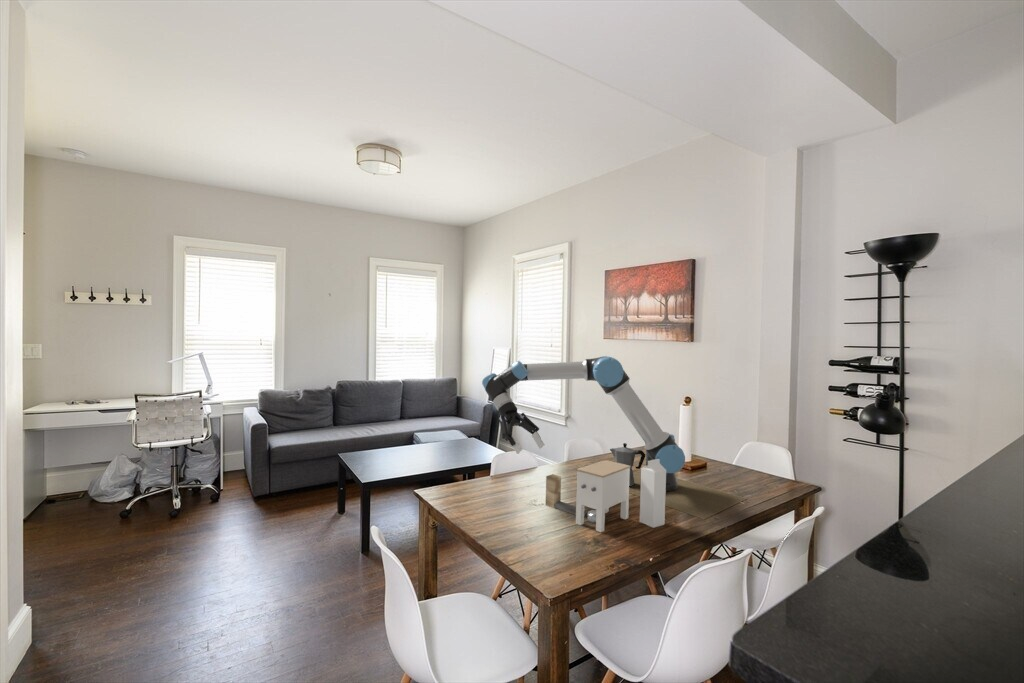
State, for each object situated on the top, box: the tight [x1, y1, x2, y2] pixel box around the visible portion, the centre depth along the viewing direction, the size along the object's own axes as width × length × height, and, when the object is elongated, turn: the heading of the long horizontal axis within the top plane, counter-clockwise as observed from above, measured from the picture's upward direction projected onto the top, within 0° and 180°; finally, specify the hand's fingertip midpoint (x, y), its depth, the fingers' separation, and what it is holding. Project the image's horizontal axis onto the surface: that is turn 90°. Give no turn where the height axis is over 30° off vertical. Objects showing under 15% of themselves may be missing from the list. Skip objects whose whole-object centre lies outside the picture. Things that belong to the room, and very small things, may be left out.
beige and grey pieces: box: [545, 473, 587, 517], centre depth 167 cm, size 4×16×11 cm, turn 47°
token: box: [586, 509, 596, 524], centre depth 159 cm, size 6×6×2 cm
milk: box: [639, 459, 667, 529], centre depth 157 cm, size 6×6×22 cm
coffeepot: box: [609, 443, 646, 487], centre depth 200 cm, size 15×9×18 cm, turn 70°
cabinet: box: [575, 459, 631, 533], centre depth 158 cm, size 19×10×19 cm, turn 137°
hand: (531, 449), depth 179 cm, fingers open, 13 cm apart
